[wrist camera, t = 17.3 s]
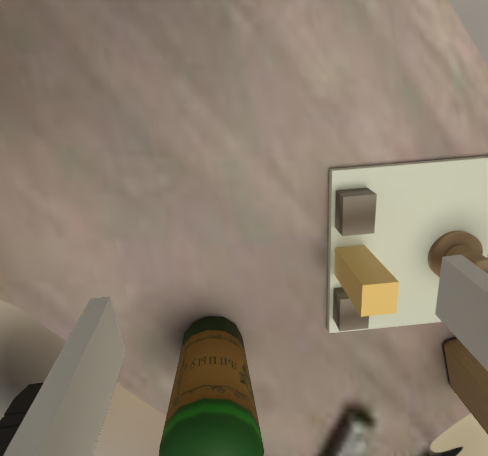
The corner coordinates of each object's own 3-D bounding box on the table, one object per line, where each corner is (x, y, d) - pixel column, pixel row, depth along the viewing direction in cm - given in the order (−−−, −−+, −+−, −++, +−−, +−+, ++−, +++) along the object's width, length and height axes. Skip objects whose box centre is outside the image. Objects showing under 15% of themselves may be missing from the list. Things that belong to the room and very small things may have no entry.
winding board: (329, 168, 46) (332, 170, 45) (498, 154, 47) (505, 156, 46) (326, 328, 55) (329, 333, 54) (470, 313, 56) (475, 318, 55)
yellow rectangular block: (334, 247, 49) (362, 285, 40) (364, 244, 49) (399, 281, 40) (334, 274, 50) (360, 316, 41) (363, 271, 51) (396, 313, 41)
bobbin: (430, 232, 49) (493, 275, 38) (481, 228, 49) (559, 269, 38) (425, 279, 52) (482, 332, 40) (473, 274, 52) (544, 325, 41)
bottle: (260, 321, 54) (302, 542, 28) (232, 376, 57) (246, 620, 31) (191, 299, 52) (165, 515, 26) (166, 357, 55) (120, 602, 29)
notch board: (335, 190, 46) (343, 196, 43) (367, 187, 46) (376, 194, 43) (332, 318, 53) (339, 331, 50) (360, 315, 53) (368, 328, 50)
